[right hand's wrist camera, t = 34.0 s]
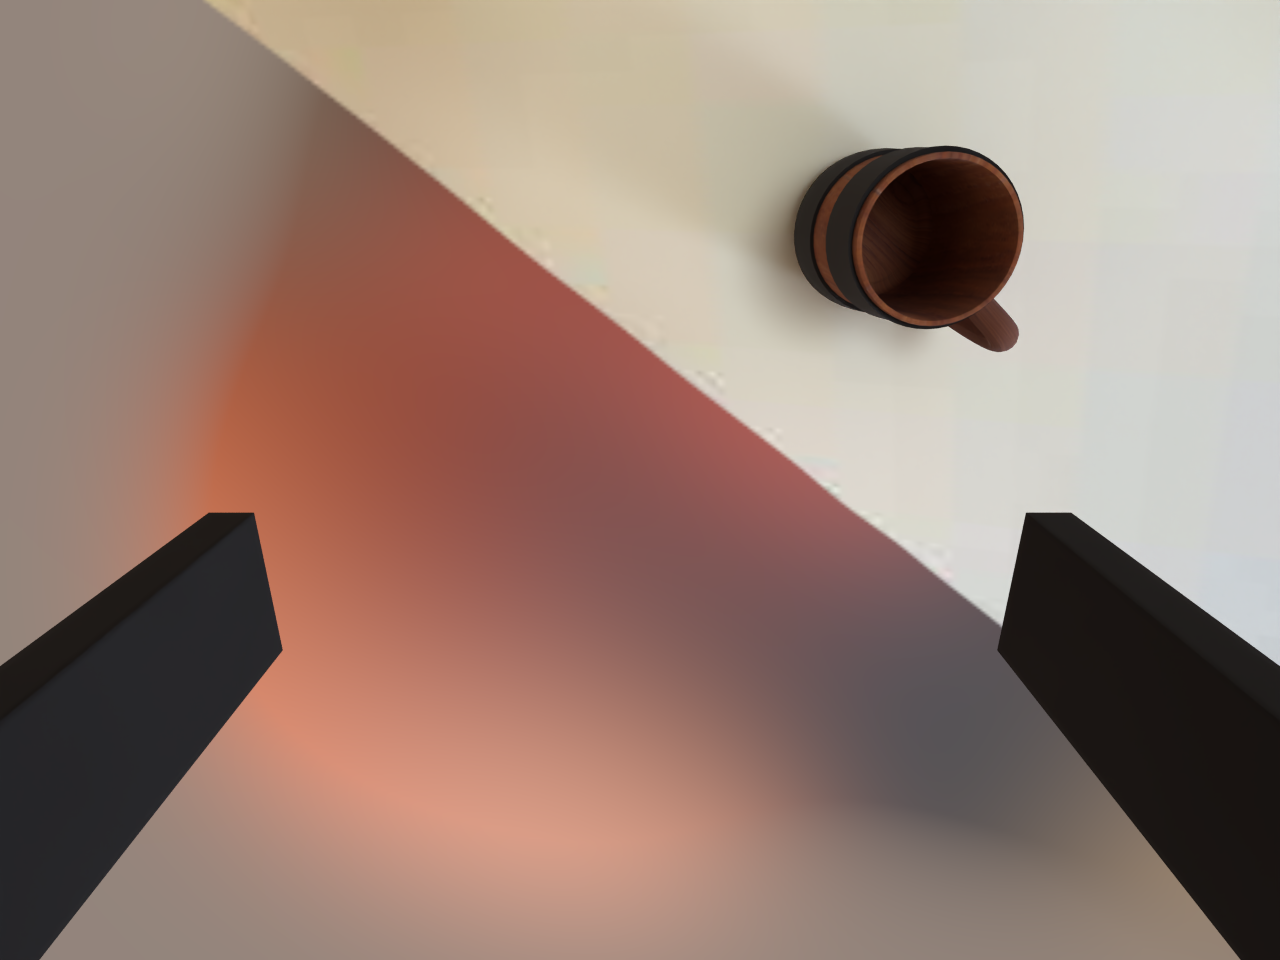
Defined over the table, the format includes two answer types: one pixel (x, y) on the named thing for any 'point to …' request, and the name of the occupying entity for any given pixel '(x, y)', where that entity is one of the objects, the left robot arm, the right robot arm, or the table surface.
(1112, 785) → the right robot arm
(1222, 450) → the table surface
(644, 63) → the table surface
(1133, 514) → the table surface
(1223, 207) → the table surface
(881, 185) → the mug
